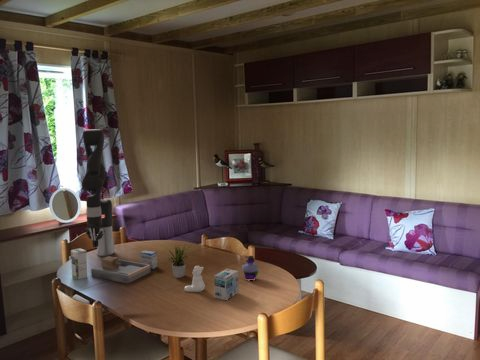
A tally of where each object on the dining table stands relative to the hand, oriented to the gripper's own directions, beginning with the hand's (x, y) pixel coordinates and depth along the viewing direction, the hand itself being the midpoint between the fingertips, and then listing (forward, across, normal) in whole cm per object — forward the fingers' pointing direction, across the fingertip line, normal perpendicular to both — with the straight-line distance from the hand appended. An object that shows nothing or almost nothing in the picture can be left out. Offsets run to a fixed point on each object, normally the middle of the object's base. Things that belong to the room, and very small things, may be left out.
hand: (95, 246), depth 234 cm
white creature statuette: (+13, -64, 0) cm, 65 cm away
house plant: (+13, -47, -12) cm, 50 cm away
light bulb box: (+13, -80, 0) cm, 81 cm away
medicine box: (+13, -23, -16) cm, 30 cm away
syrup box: (+13, -1, +13) cm, 18 cm away
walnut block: (+10, -10, 0) cm, 14 cm away
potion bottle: (+13, -81, -23) cm, 85 cm away
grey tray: (+13, -17, 0) cm, 21 cm away
